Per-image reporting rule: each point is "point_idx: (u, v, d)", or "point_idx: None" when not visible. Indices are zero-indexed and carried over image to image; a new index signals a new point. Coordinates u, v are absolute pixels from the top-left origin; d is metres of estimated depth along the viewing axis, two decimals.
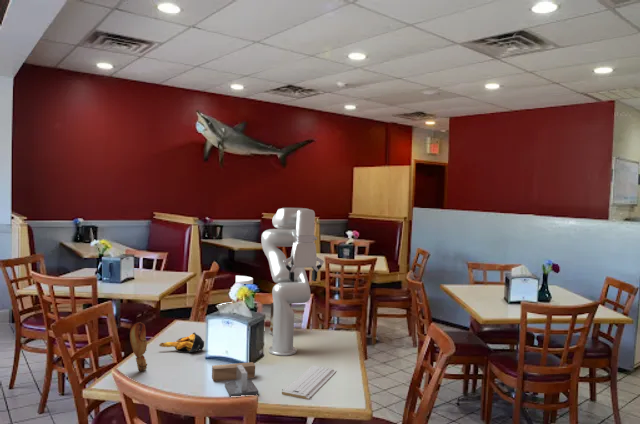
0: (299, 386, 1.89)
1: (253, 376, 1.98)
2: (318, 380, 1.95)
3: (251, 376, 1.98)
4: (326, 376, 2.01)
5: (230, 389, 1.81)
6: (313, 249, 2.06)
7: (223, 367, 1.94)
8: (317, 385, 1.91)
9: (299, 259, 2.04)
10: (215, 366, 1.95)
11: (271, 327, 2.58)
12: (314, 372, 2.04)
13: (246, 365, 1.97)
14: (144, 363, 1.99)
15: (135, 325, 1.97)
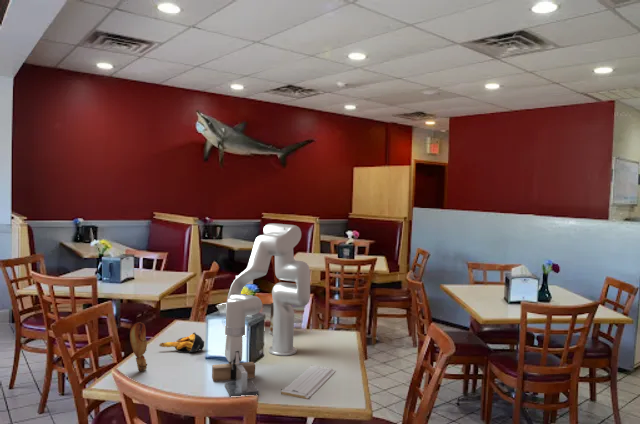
0: (298, 386, 1.89)
1: (253, 376, 1.98)
2: (318, 380, 1.95)
3: (251, 376, 1.97)
4: (325, 376, 2.01)
5: (230, 389, 1.81)
6: None
7: (223, 366, 1.94)
8: (316, 385, 1.91)
9: None
10: (215, 365, 1.95)
11: (271, 327, 2.58)
12: (313, 372, 2.04)
13: (246, 365, 1.97)
14: (144, 363, 1.99)
15: (135, 325, 1.97)
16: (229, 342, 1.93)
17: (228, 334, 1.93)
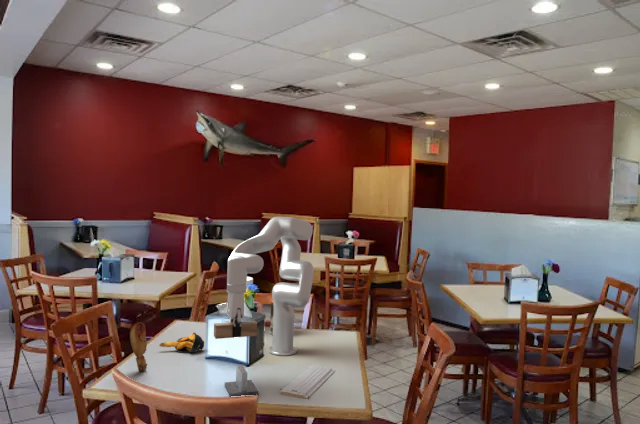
0: (298, 385, 1.89)
1: (255, 334, 1.97)
2: (317, 380, 1.95)
3: (253, 333, 1.97)
4: (325, 376, 2.01)
5: (230, 389, 1.81)
6: None
7: (225, 324, 1.94)
8: (316, 384, 1.91)
9: None
10: (217, 323, 1.95)
11: (271, 327, 2.58)
12: (313, 372, 2.04)
13: (248, 323, 1.97)
14: (144, 363, 1.99)
15: (135, 325, 1.97)
16: (231, 299, 1.92)
17: (230, 291, 1.93)
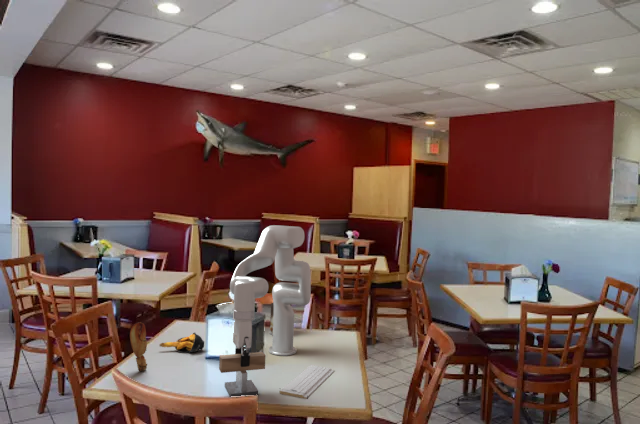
0: (297, 385, 1.89)
1: (263, 367, 1.85)
2: (316, 380, 1.96)
3: (261, 366, 1.85)
4: (324, 375, 2.01)
5: (230, 389, 1.81)
6: None
7: (231, 357, 1.82)
8: (315, 384, 1.92)
9: None
10: (223, 356, 1.82)
11: (271, 327, 2.58)
12: (312, 371, 2.05)
13: (255, 355, 1.85)
14: (144, 363, 1.99)
15: (135, 325, 1.97)
16: (238, 327, 1.80)
17: (237, 319, 1.80)
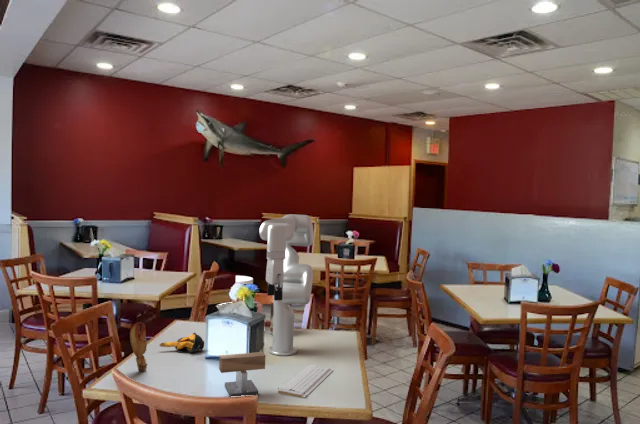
0: (295, 385, 1.90)
1: (263, 367, 1.85)
2: (315, 379, 1.96)
3: (261, 366, 1.85)
4: (323, 375, 2.02)
5: (230, 389, 1.81)
6: None
7: (231, 357, 1.82)
8: (313, 384, 1.92)
9: None
10: (223, 356, 1.82)
11: (271, 327, 2.58)
12: (311, 371, 2.05)
13: (255, 355, 1.85)
14: (144, 363, 1.99)
15: (135, 325, 1.97)
16: (271, 265, 1.99)
17: (270, 258, 2.00)
